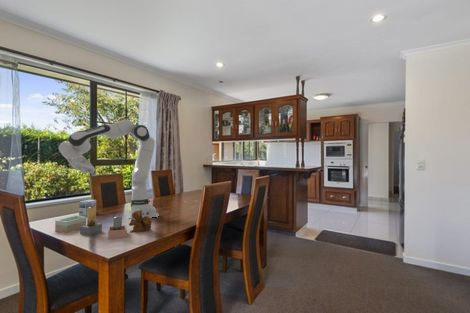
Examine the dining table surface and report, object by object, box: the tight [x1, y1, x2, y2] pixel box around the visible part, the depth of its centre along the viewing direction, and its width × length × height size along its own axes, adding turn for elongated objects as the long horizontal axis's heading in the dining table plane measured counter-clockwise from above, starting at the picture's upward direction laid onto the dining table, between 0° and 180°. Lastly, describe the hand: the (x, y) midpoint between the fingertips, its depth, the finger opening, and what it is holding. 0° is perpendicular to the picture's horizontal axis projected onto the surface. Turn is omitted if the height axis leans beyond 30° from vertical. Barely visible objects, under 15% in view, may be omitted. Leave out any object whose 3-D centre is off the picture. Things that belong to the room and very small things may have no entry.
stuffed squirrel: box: [128, 210, 153, 233], centre depth 155 cm, size 10×14×13 cm
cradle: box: [79, 222, 103, 236], centre depth 148 cm, size 9×7×5 cm
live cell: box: [86, 206, 97, 226], centre depth 148 cm, size 4×4×12 cm
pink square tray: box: [107, 224, 128, 240], centre depth 144 cm, size 10×10×5 cm
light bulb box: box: [78, 199, 97, 217], centre depth 195 cm, size 11×7×11 cm, turn 168°
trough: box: [54, 215, 87, 234], centre depth 156 cm, size 14×9×7 cm, turn 164°
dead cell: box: [112, 215, 123, 231], centre depth 144 cm, size 4×4×12 cm
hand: (90, 174), depth 162 cm, fingers open, 8 cm apart
